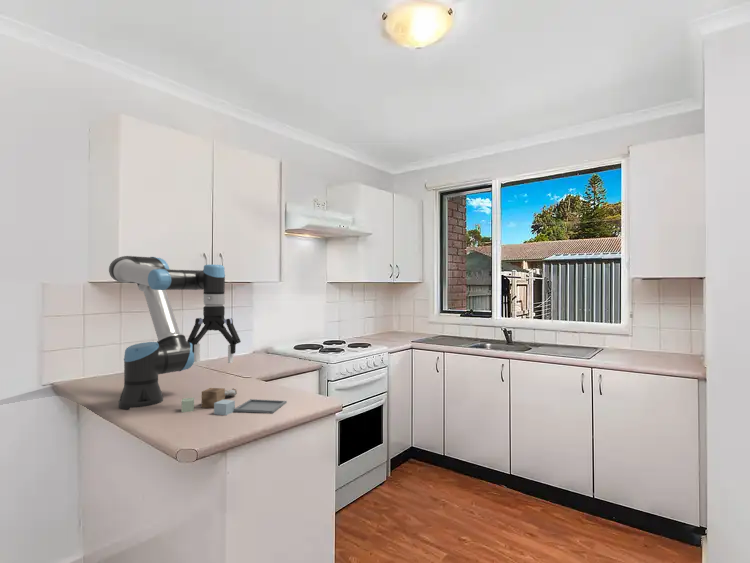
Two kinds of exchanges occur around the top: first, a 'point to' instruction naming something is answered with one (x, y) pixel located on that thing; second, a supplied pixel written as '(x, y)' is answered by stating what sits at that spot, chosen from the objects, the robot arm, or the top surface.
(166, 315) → the robot arm
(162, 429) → the top surface
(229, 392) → the stone
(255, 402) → the tray
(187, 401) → the block sage
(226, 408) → the block bluegrey
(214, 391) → the block walnut
